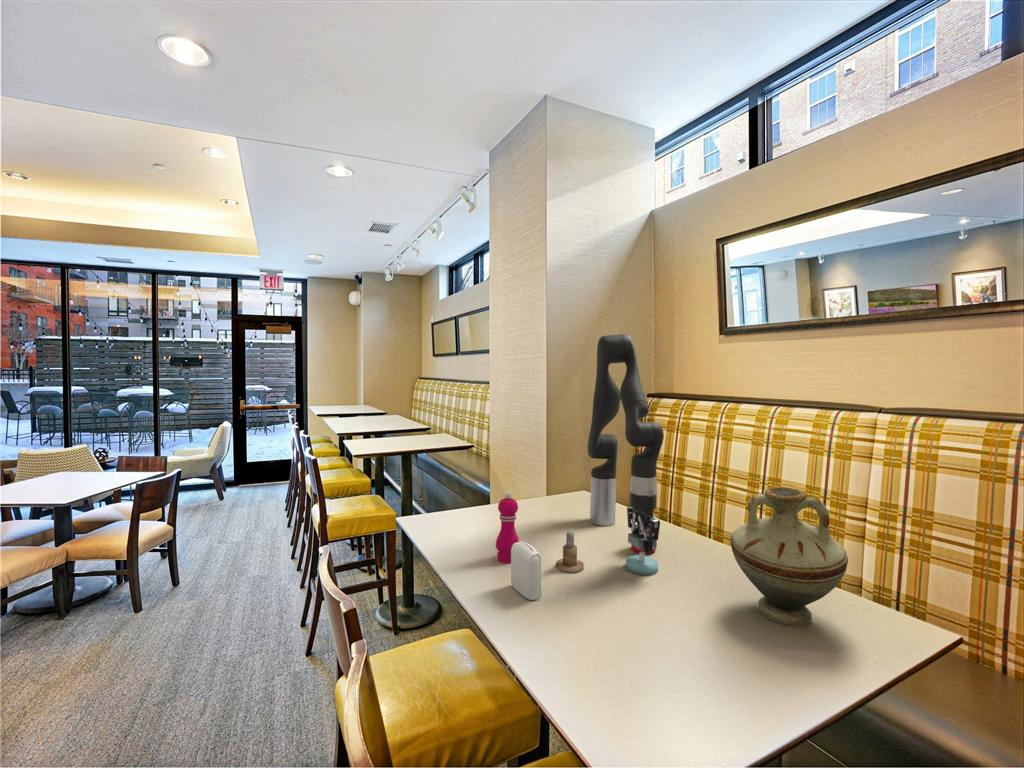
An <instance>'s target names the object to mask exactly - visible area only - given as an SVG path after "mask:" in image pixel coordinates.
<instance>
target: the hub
mask: <svg viewBox="0 0 1024 768" xmlns="http://www.w3.org/2000/svg"><path fill="white" fill-rule="evenodd" d="M625 568H626V570H628V571H629V572H630V573H633V574H635V575H641V576H653V575H656V574H657V573H658V572H659V562H658V560H656V559H655V558H653V557H650V556H646V555H645V553H644V552H639V553H638V554H637V555H636V554H635V555H629V556H627V557H626V559H625Z"/></svg>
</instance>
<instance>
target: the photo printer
mask: <svg viewBox="0 0 1024 768" xmlns="http://www.w3.org/2000/svg"><path fill="white" fill-rule="evenodd" d="M510 584H511V587H512V588H513V589H514V590H516V592H517V593H519V594H520V595H522V596H523V598H525V599H527V600H530V601H536V600H539V599H540V597H542V556H541V555H540V553H539V552H538V550H537V549H536V548H535V547H534V546H533V545H531V544H529V543H527V542H525V541H519V542H516V543H514V544H513V546H512V548H511V563H510Z"/></svg>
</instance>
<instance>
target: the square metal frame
mask: <svg viewBox="0 0 1024 768" xmlns="http://www.w3.org/2000/svg"><path fill="white" fill-rule="evenodd" d="M647 535H649V534H648V533H647ZM644 540H645V538H644V533H643V532H640V533H631V532H630V533H628V534H627V543H629V544H630V546H631V545H633V546H634V547H636V548H637V549H644ZM657 541H658V540H653V548H656V549H657V545H658V544H657V543H658V542H657Z"/></svg>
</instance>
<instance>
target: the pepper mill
mask: <svg viewBox="0 0 1024 768" xmlns="http://www.w3.org/2000/svg"><path fill="white" fill-rule="evenodd" d="M497 509H498V512H499V513H500V514H499V520H500V523H501V524H500V531H499V533H498V536H497V538H496V541H495V548H496V550H497V551H498V552H497V554H496V559H497V561H498V562H499V563H503V564H511V548H512V546H513V544H514V543H516V542H520V540H519V537H518V534H517V532H516V528H515V527H516V526H515V524H516V523H515V522H516V520H517V514H516V513H517V512H518V510H519V504H518V502H517V500H516V499H514V498H512V495H511V493H509V492H507V493H506V494H505V498H502V499H500V501H499V503H498V507H497Z"/></svg>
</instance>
